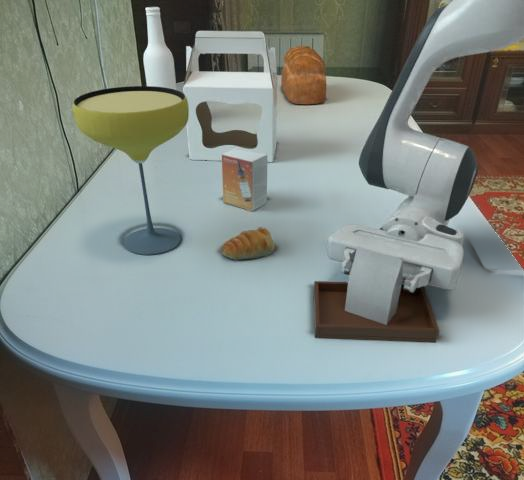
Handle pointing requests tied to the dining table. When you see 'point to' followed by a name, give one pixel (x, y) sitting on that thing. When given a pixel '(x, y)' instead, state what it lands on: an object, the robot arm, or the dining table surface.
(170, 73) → the alcohol
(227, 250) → the pastry
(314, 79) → the bread
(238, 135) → the gable box
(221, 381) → the dining table surface
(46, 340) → the dining table surface
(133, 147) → the cocktail glass
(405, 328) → the tray
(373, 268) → the grey rectangular block
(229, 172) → the small box
